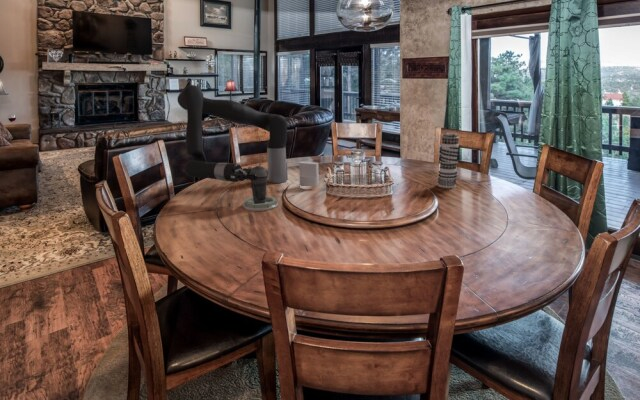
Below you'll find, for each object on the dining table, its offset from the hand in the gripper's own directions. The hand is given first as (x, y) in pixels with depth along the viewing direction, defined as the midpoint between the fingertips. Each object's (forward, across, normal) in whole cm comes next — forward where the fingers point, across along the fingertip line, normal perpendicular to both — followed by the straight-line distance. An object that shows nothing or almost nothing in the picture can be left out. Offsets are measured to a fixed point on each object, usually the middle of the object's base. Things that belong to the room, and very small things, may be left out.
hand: (261, 175), depth 176 cm
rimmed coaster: (-1, 0, +13) cm, 13 cm away
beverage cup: (-2, 0, +12) cm, 12 cm away
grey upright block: (+4, +36, +13) cm, 38 cm away
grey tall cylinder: (+64, +64, +13) cm, 91 cm away
